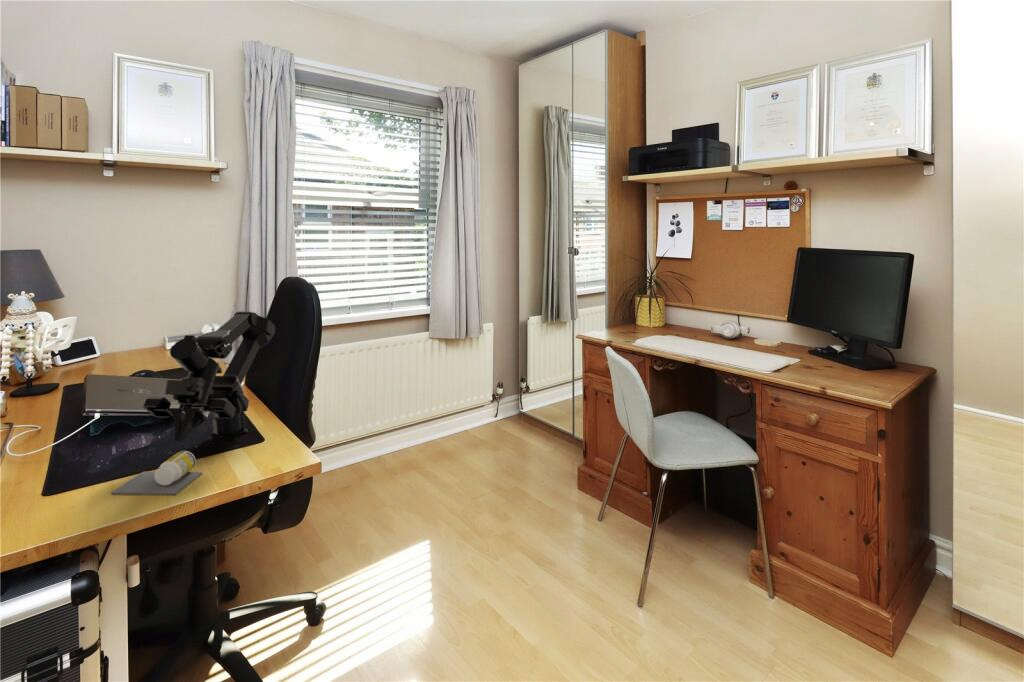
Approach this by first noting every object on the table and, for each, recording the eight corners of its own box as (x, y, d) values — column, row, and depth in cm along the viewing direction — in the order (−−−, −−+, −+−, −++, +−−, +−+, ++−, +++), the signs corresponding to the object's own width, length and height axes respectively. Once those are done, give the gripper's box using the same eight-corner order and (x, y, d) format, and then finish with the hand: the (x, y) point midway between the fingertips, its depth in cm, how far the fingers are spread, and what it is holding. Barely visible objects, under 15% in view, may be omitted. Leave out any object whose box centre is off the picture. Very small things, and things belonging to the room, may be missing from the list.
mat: (144, 473, 121) (143, 471, 121) (202, 473, 121) (202, 472, 121) (111, 494, 112) (111, 492, 112) (175, 495, 112) (175, 493, 112)
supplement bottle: (172, 466, 122) (149, 483, 114) (177, 447, 121) (154, 463, 113) (193, 472, 123) (172, 490, 114) (198, 454, 122) (177, 470, 114)
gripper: (142, 363, 125) (114, 426, 116) (224, 364, 125) (202, 428, 116) (167, 386, 134) (143, 446, 126) (244, 387, 134) (225, 447, 126)
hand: (177, 442), depth 123 cm, fingers closed
